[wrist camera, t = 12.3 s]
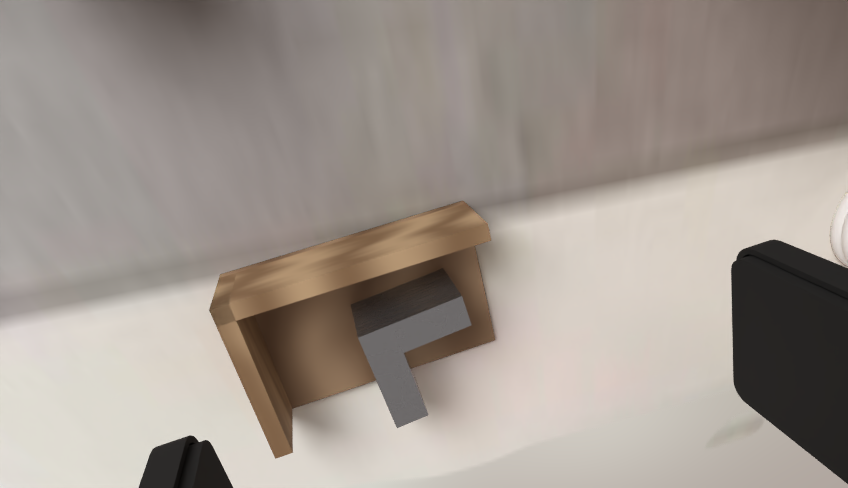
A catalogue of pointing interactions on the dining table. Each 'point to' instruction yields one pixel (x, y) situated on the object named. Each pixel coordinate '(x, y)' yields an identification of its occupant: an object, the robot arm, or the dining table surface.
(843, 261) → the coaster
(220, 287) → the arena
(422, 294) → the bracket
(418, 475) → the dining table surface
